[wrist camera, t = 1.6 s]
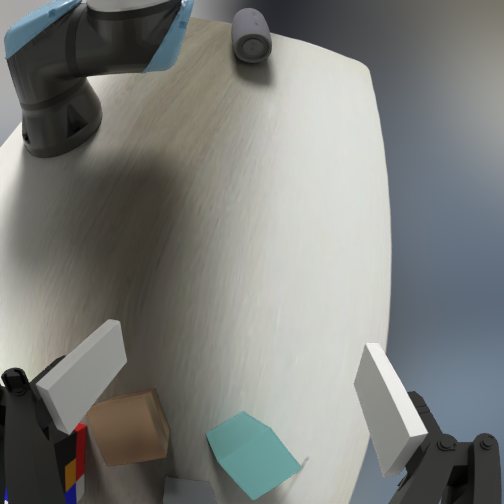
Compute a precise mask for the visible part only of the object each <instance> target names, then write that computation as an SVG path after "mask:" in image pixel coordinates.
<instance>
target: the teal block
mask: <svg viewBox="0 0 504 504" xmlns="http://www.w3.org/2000/svg"><path fill="white" fill-rule="evenodd" d="M206 436H207V438H208V441H209V443H210V445H211V448H212V450H213V452H214V455H215V457H216V459H217V461H218V463H219V464H220V465H221V466H222V467H223V468H224V470H225V471H226V472H227V473H228V474H229V475H230V476H231V478H232V479H233V480H234V481H235V482H236V483H237V484H238V485H239V486H240V487H241V489H242V490H243V491H244V492H245V493H246V494H247V495H248V496H249V497H250V498H251V499H252V500H255V499H257V498H258V497H260V496H262V495H263V494H265V493H267V492H268V491H270V490H271V489H273V488H274V487H276V486H277V485H279V484H280V483H282V482H283V481H285V480H286V479H288V478H289V477H291V476H292V475H293V474H295V473H296V472H298V471H299V470H300V469H302V467H301V466H300V464H299V463H298V462H297V461H296V460H295V458H294V457H293V456H292V455H291V453H290V452H289V451H288V450H287V448H286V447H285V446H284V445H283V443H282V442H281V441H280V439H279V438H278V437H277V436H276V434H275V433H274V432H273V430H272V429H271V428H270V427H268V426H267V425H265V424H263V423H262V422H260V421H258V420H257V419H255V418H253V417H252V416H250V415H249V414H247V413H246V412H244V411H242V412H240V413H239V414H237V415H236V416H234V417H233V418H231V419H229V420H228V421H226V422H224V423H223V424H221V425H219V426H218V427H216V428H214V429H213V430H211V431H209V432H207V433H206Z"/></svg>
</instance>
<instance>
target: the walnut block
mask: <svg viewBox="0 0 504 504" xmlns="http://www.w3.org/2000/svg"><path fill="white" fill-rule="evenodd" d="M87 416H88V419H89V422H90V425H91V428H92V430H93V433H94V436H95V438H96V441H97V443H98V446H99V448H100V451H101V453H102V456H103V458H104V460H105V462H106V465H107V466H114V465H123V464H130V463H137V462H144V461H150V460H155V459H161V458H166V455H167V448H168V441H169V435H170V429H169V426H168V423H167V421H166V418H165V415H164V412H163V410H162V407H161V404H160V401H159V398H158V395H157V392H156V389H152V390H147V391H142V392H137V393H132V394H127V395H121V396H116V397H112V398H110V399H107V400H105V401H102V402H100V403H97V404H95V405H92V406H91V408H90V409H89V410H88V412H87Z"/></svg>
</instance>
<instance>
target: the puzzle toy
mask: <svg viewBox="0 0 504 504" xmlns="http://www.w3.org/2000/svg"><path fill="white" fill-rule="evenodd" d="M49 425H50V426H51V429H52V436H53V443H54V450H55V456H56V462H57V467H58V472H59V476H60V481H61V485H62V489H63V493H64V497H65V500H66V504H77V503H78V502H79V500H80V499H81V498H82V496H83V495H84V494H85V493H84V465H85V442H86V429H87V426H86V425H83V424H81V423H78V425H77V426H76V427H75V429H74V430H73V431H72V432H71V434H70V435H68V434H66V433H64V432H62V431H60V430H59V429H57V427H56V425H55V424H54V422H53V421H52V422H51V423H50V424H49ZM5 500H6V501H8V497H7V488H6V493H5Z"/></svg>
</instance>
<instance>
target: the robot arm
mask: <svg viewBox="0 0 504 504" xmlns="http://www.w3.org/2000/svg"><path fill="white" fill-rule="evenodd" d="M81 2H82V0H56V1H53V2H51V3H49V4H47V5H44V6H42V7H41V8H39V9H37V10H35V11H33V12H32V13H30V14H28V15H26V16H25V17H23V18H22V19H20V20H19V21H18V22H17V23H15V24H14V25H13V26H12V27H11V28H10V29H9V30H8V31H7V33H6V35H5V38H4V44H5V52H6V57H5V58H6V60H7V63H8V67H9V70H10V74H11V77H12V80H13V84H14V87H15V90H16V93H17V96H18V99H19V101H20V105H21V108H22V136H23V141H24V143H25V145H26V148H27V150H28V151H29V152H30V153H31V154H32V155H34V156H37V157H53V156H57V155H60V154H63V153H66V152H68V151H70V150H72V149H74V148H76V147H77V146H79V145H80V144H82V143H83V142H84V141H86V140H87V139H88V138H89V137H90V136H91V135H92V134H93V133H94V132H95V130H96V129H97V128H98V126H99V124H100V122H101V119H102V109H101V103H100V100H99V98H98V97H97V95H96V93H95V92H94V90H93V88H92V87H91V85H90V83H89V82H88V80H87V77H88V76H97V75H108V74H122V73H146V72H151V71H164V70H167V69H169V68H171V67H172V66H173V65H174V64H175V62H176V60H177V58H178V55H179V52H180V49H181V45H182V42H183V39H184V35H185V32H186V26H187V24H188V21H189V18H190V15H191V11H192V7H193V4H194V0H87V2H86V3H81ZM126 362H127V359H126V354H125V348H124V343H123V337H122V331H121V325H120V321H116V320H111V319H108V320H107V321H106V322H105V323H104V324H102V325H101V326H100V327H99V328H98V329H97V330H95V331H94V332H93V333H92V334H91V335H90V336H89V337H87V338H86V339H85V340H84V341H83V342H82V343H81V344H79V345H78V346H77V347H76V348H75V349H74V350H73V351H71V352H70V353H69V354H68V355H67V356H65V355H64V356H62V357H60V358H57V359H56V360H54V361H53V362H52V363H51V364H50V366H48V367H47V368H45V370H43V371H42V372H41V373H40V374H39V375H38V376H37V377H35V378H34V379H33V380H32V381H31V382H30V383H29V381H28V379H27V377H26V374H25V372H24V371H23V370H22V369H20V368H10V369H8V370H6V371H5V372H4V373H3V374H2V376H1V378H2V380H3V383H4V385H5V387H3V386H1V384H0V504H4V502H5V493H6V488H7V497H8V504H66V500H65V497H64V493H63V489H62V485H61V481H60V476H59V472H58V467H57V462H56V456H55V450H54V443H53V436H52V429H51V426H50V425H49V424H50V423H51V422H52V421H53V422H54V424H55V425H56V427H57V429H59V430H60V431H62V432H64V433H66V434H68V435H70V434H71V432H72V431H73V430H74V429H75V427H76V426H77V425H78V423H79V422H80V421H81V419H82V418H83V417H84V416H85V414H86V413H87V412H88V410H89V409H90V408H91V406H92V405H93V404H94V403H95V401H96V400H97V399H98V397H99V396H100V395H101V394H102V392H103V391H104V390H105V389H106V387H107V386H108V385H109V384H110V382H111V381H112V380H113V379H114V377H115V376H116V375H117V374H118V372H119V371H120V370H121V369H122V367H123V366H124V365H125V364H126ZM354 386H355V389H356V392H357V395H358V398H359V401H360V404H361V407H362V410H363V413H364V416H365V419H366V423H367V426H368V429H369V432H370V435H371V438H372V442H373V445H374V448H375V451H376V455H377V458H378V462H379V465H380V469H381V472H382V476H383V477H388V476H393V475H398V474H400V472H401V471H402V470H403V469H404V467H406V470H407V475H406V476H405V477H404V478H403V479H402V481H401V482H400V483H399V485H398V486H399V488H398V489H397V491H396V493H395V494H394V496H393V497H392V499H391V501H390V502H389V504H438V503H439V501H440V499H441V497H442V499H441V504H501V469H500V456H499V447H498V442H497V440H496V439H495V437H494V436H492V435H490V434H486V433H483V434H480V435H478V436H477V437H476V438H475V440H474V441H473V442H457V440H456V439H455V438H454V437H453V436H451V435H449V434H443V433H442V432H441V430H440V428H439V426H438V424H437V422H436V420H435V419H434V417H433V415H432V414H431V413H430V410H429V408H428V407H427V405H426V403H425V401H424V400H423V398H422V397H421V396H420V395H419V394H418V393H416V392H415V391H413V392H406V390H405V388H404V387H403V385H402V383H401V381H400V379H399V378H398V376H397V374H396V372H395V371H394V369H393V367H392V365H391V364H390V362H389V360H388V359H387V357H386V355H385V353H384V352H383V350H382V348H381V346H380V345H379V343H365V346H364V350H363V354H362V358H361V361H360V365H359V368H358V372H357V375H356V378H355V382H354Z"/></svg>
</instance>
